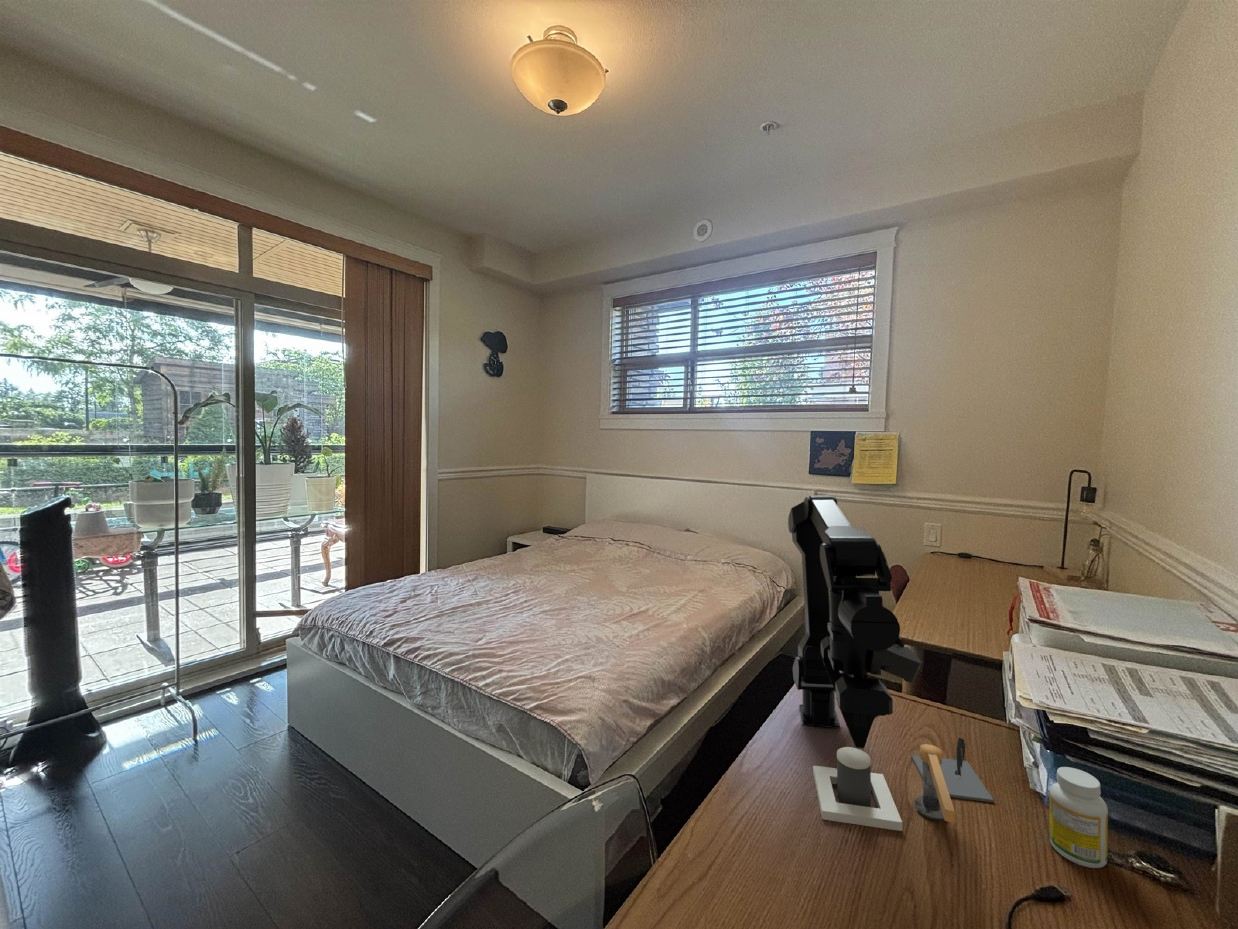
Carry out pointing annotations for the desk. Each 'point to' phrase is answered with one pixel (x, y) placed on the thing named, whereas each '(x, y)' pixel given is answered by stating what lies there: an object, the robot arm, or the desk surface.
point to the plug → (853, 777)
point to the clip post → (929, 798)
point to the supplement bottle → (1078, 818)
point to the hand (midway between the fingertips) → (852, 728)
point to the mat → (959, 780)
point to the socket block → (856, 814)
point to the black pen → (959, 755)
